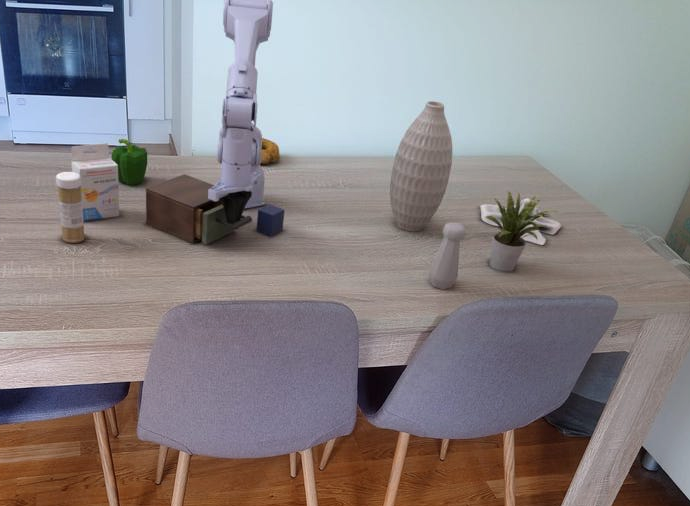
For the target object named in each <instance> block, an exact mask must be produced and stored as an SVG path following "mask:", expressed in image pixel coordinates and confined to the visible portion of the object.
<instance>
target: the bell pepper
mask: <svg viewBox="0 0 690 506" xmlns="http://www.w3.org/2000/svg"><path fill="white" fill-rule="evenodd" d="M118 143H119V144H125V146H126V147H125V146H122V145H117V146H116V147H115V149H113V150H112V153H111V159H112V160H113V161H114V162H115V163H116V164H117V165H118V182H121V183H125V184H126V185H132V186H133V185H139V184H141V183H142V182H143V181H144V180H145V176H146V173H147V167H148V150H147V149H146V148H145V147H139V146H138V145H136V144H132V145H131V143H130V142H129V141H128V139H125V138H119V139H118Z"/></svg>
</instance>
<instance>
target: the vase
mask: <svg viewBox="0 0 690 506" xmlns="http://www.w3.org/2000/svg"><path fill="white" fill-rule="evenodd" d="M452 139H453V138H452V134H451V130H450V126H449V124H448V121H447V118H446V114H445V104H444V103H442V102H439V101H435V100H430V101H427V102H426V103H425V106H424V109H422V111H421V113H420V114H419V115H418V116H417V117H416V118H415V119H414V120H413V122H412V123H411V124H410V125H409V127H408V128H407V129H406V131H405V133H403V136H402V138H401V140H400V142H399V145H398V147H397V150H396V153H395V157H394V160H393V164H392V169H391V171H392V172H391V176H390V184H389V199H390V207H391V208H390V209H391V213H392V216H393V218H394V221H395V223H396V226H397V227H398V228H400V229H401V230H404V231H408V232H419V231H421V230H422V229H424V227H426V226H427V225H428V223H430V221H431V220H432V219H433V217H434V215H435V214H436V213H437V211H438V209H439V207H440V205H441V203H442V201H443V199H444V196H445V194H446V190H447V187H448V183H449V179H450V176H451V170H452V166H453V165H452V164H453V140H452Z"/></svg>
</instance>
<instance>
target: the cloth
mask: <svg viewBox="0 0 690 506" xmlns="http://www.w3.org/2000/svg"><path fill="white" fill-rule="evenodd" d="M531 200H532V199H530V198H523V199H521V201H520V210H519V213H520V212H521V211H522V209H523V208H524V207H525V206H526V205H527V204H528V203H529V202H530V201H531ZM504 207H505V206H504ZM514 207H515V208H516V205H514ZM498 208H499V206H498V204H489V203H488V204H481V205H479V209H480V215H481V216H480V217H481V220H482V222H484V223H486V224H488V225H490V226H492V227H493V226H494V227H499V226H498V224H496V223H495V222H493V221H491V220H489V219H487V218H486V216H492V217H494V218H496V219H497V220H498V221H499V223H500V224H501V226H502V228H503V224H502V221H501V217H502V215H501V213H500V210H499V209H498ZM506 209H507V206H506V207H505V210H506ZM540 212H541V211H540V209H539V208H538V207H536V206H535V208H534V210H533V211H532V212H531V213H530V214H529V215H528V216H533V215H535V214H537V213H540ZM518 215H519V214H518ZM534 218H535V217H534ZM531 220H532V219H531ZM523 222H524V221H523ZM523 222H522V223H523ZM528 222H529V221H528ZM532 222H533V223H535V224H536V225H547V226H539V227H538V228H539V229H540V230H534V231H530V232H533V233H535V234H536V236H537V239H536V238H535V237H534V236H532V235H531V234H529V233H525V234H524V235H522V236H521V238H522V237H523V239H524V240H525V241H526V242H529V243H532V244H535V245H538V246H544V245H545V243H546V241H547V239H546V237H544V236H543V234H547V235H551V236H554V235H555V234H556V233H557V232H558V231H559V230H560V229H561V228H562V225H561V222H558V221H557V220H553V219H550V218H548V217H545V218H544V217H539V218H537V219H535V220H533V221H532ZM526 223H527V222H526ZM536 225H528V226H526V227H525V228H524V229H526V228H528V227H532V226H536ZM524 229H523V230H524ZM542 233H543V234H542ZM526 235H528V236H526ZM524 236H526V237H524Z"/></svg>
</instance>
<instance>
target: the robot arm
mask: <svg viewBox="0 0 690 506" xmlns="http://www.w3.org/2000/svg"><path fill="white" fill-rule="evenodd" d="M273 10H274V2H273V0H223V12H222V13H223V14H222V25H223V32H224V33H225V37H226V38H228V39H230V40H232V41H233V43H234V62H233V63H232V64H230V66H229V67H228V70H227V81H226V90H225V98H223V100H222V104H221V106H222V107H221V125H222V127H221V128H220V129H219V133H218V140H217V153H216V154H217V155H216V156H217V157H216V158H217V159H216V160H217V162H218V163H219V164H220V165H221V177H220V180H218V181H217V183H215V184H214V185H215V186H214V187H212V188H211V189H209V190H208V199H210V200H213V201H215V202H216V201H218V200H219V198H220V200H221V202H222V204H223V207H224V210H225V214H226V219H227V222H228V223H231V224H232V223H234V222H236V221H238V220H240V219H241V216H242V215H243V213H244V210H245V209H251V208H255V207H256V208H257V207H262V206H264V205H265V204H266V203H265V202H264V192H265V179H266V178H265V171H264V169H263V168H262V166H261V164H260V162H261V149H262V138H263V134H262V131H261V130H260V128H259V127H257V117H258V116H257V114H258V99H257V97H258V94H257V89H258V70H257V68H256V55H257V51H258V48H259V46H260V44H262V43H265V42H268V41H269V38H271V37H270V36H271V31H272V24H273Z"/></svg>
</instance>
